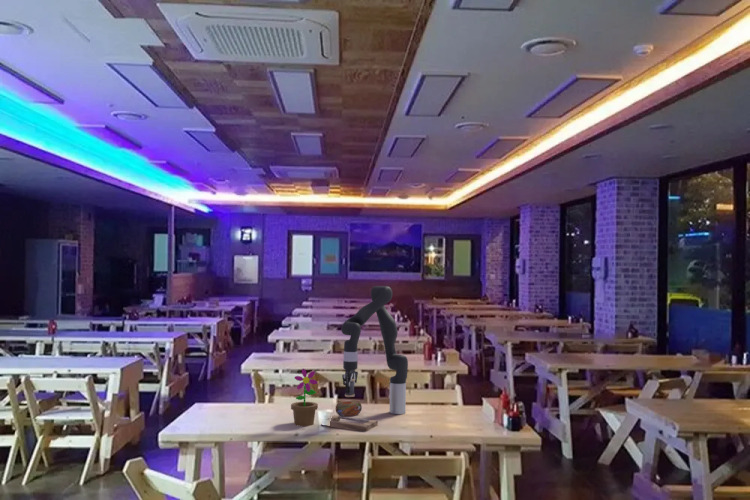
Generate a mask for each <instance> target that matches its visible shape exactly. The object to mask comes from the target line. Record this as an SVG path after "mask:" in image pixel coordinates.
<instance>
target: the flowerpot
mask: <svg viewBox="0 0 750 500" xmlns="http://www.w3.org/2000/svg"><path fill="white" fill-rule="evenodd" d="M315 374H316V371H315V370H312V371H310V373H308V374H307V370H306V368H302V369H301V375H302V376H299V375H296V376H294V379H295V380H296V381H299V384H298V385H297V386H296V387H297V390H301V389H302V388H303V395H298V396H296V397H295V400H298V401H296V402H293V403H291V404H290V409H291V410H292V411H293V412H292V413H293V414H292V415H293V422H294V425H295V426H297V425H298V426H297V427H311V426H314V424H315V417H316V415H315V414H316V411H317V410H318V409H319V407H318V406H319V404H318V403H317V402H314V401H306V395H308V396H312V395H315V394H316V393H317V391H315V390H314V389H311V385H318V383H319V382H318V381H317V380H316V379H312V378H313V377H314V376H315ZM310 384H311V385H310ZM302 400H303V401H302Z"/></svg>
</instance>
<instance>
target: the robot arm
mask: <svg viewBox="0 0 750 500" xmlns="http://www.w3.org/2000/svg"><path fill="white" fill-rule="evenodd" d="M370 298H371V302H369V303H367V304H365V305H364V306H363V307H361V308H359V310H358V311H357V312H356V313H355V314H354V315H353V316H351V317H349V318H348V319H346V320H345V321H344V322H343V323H342V325H341V333H342V334H343V335H345V336H350V338H349V339H346V340H344V347H343V360H342V361H343V363H342V368H343V370H345V371H344V372H345V373H344V374H342V375H341V376H342V377H341V378H342V384H343V386H345V394H346V393H348V394H349V393H350V382H351V380H352V379H355V381H354V386H355V385H356V384H357V381H358V375H359V372H358V371H357V369H358V360H359V359H358V358H359V357H358V355H359V354H358V344H359V339H360V336H361V332H362V328H361V327H362V326H364V325H365V324H366V323H367V321H368V320H369V319H370V318H371V317H372V316H373V315H374V314H375V313H376V316H377V321H378V324H379V328H380V333H381V337H382V341H383V345H384V350H385V359H386V364H387V367H388V369H390V370H391V371H392V370H393V371H395V374H394V376H391V377H390V378H389V413H390V414H391V415H403V414H406V413H407V411H406V409H407V408H406V407H407V406H406V405H407V404H406V401H407V400H406V399H407V398H406V396H407V395H406V394H407V378H408V369H409V360H408V357H407V356H406V355H404V354H398V353H397V351H396V347H395V346H396V345H395V344H396V341H397V339H398V338H397V337H398V327H397V323H396V320H395V318H394V317H393V316H392V315H391V314H390V313H389V311H388V310H387V308H386V306H385V305H386V304H388V303H389V302H390V301H391V300H392V298H393V290H392V288H391V287H390V286H388V285H375V286H372V288H371V291H370ZM348 382H349V383H348Z"/></svg>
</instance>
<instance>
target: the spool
mask: <svg viewBox="0 0 750 500" xmlns="http://www.w3.org/2000/svg"><path fill="white" fill-rule="evenodd" d="M354 381H355V379H352V380H351V382H350V393H349V394H348V393H346V392H345V393H344V397H346V398H353V397H354V398H355V395H356V394H355V385H354ZM348 383H349V382H348Z"/></svg>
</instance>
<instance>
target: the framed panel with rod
mask: <svg viewBox="0 0 750 500" xmlns="http://www.w3.org/2000/svg"><path fill="white" fill-rule="evenodd" d="M341 420H346V421H354V422H355V421H356V422H362V424H361V423H353V422H346V421H341ZM378 422H379V421H378V420H377V419H376V420H375V419H371V420H370V419H363V418H356V417H349V416H343V417H342V416H340V415H335V414H334V415H332V418H331V421H330V426H331V428H337V429H345V430H351V431H352V430H353V431H360V432H368V431H370V430H372V429H374V428H375V427H377V426H378V425H379V423H378Z"/></svg>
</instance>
